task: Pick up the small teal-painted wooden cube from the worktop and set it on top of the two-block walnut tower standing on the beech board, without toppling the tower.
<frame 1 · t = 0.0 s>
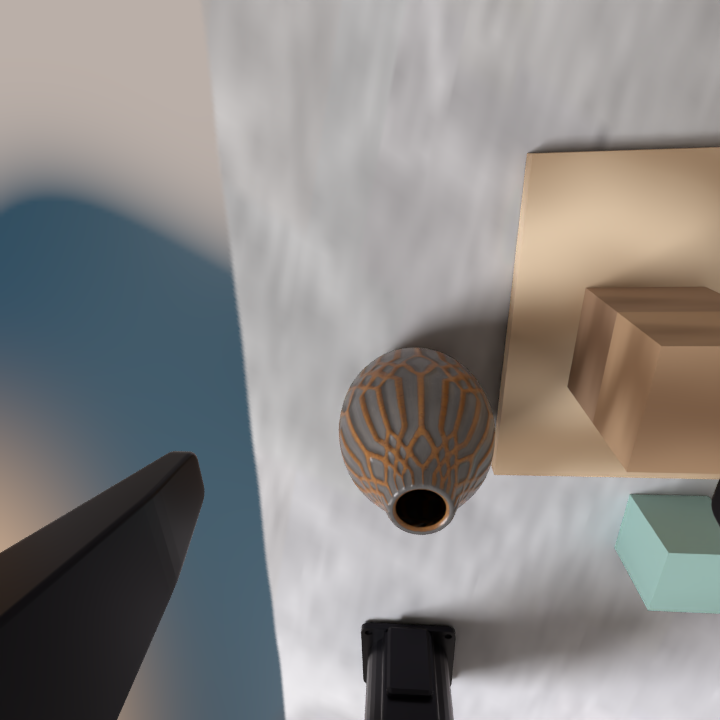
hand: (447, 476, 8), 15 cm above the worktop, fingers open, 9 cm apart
cube: (658, 521, 27), on the worktop
tower base: (631, 339, 21), point 1 cm above the worktop, touching beech board, tower top
beech board: (635, 333, 22), on the worktop
vase: (412, 387, 24), on the worktop
tower top: (669, 371, 18), point 4 cm above the worktop, touching tower base
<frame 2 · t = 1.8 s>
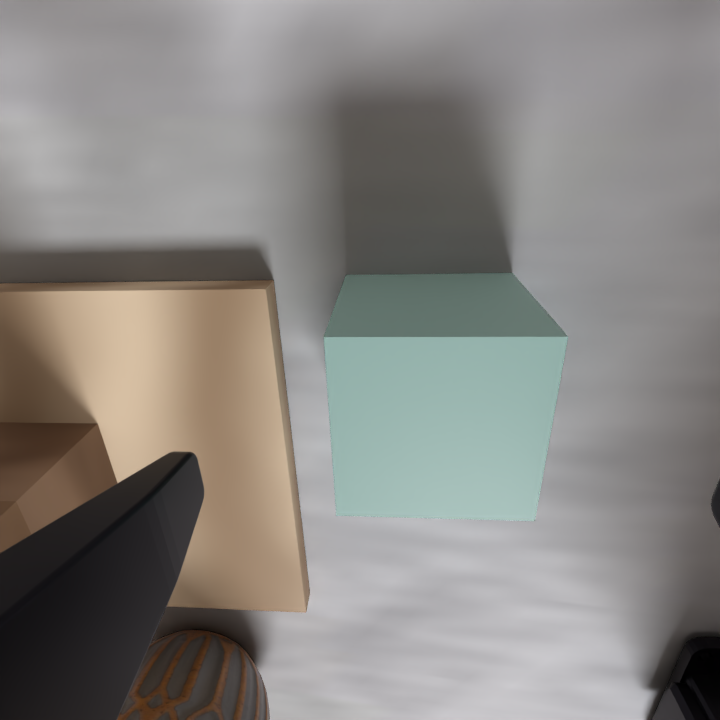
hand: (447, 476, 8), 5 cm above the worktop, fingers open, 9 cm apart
cube: (425, 347, 13), on the worktop
tower base: (45, 488, 15), point 1 cm above the worktop, touching beech board, tower top
beech board: (56, 459, 15), on the worktop
vase: (207, 654, 20), on the worktop
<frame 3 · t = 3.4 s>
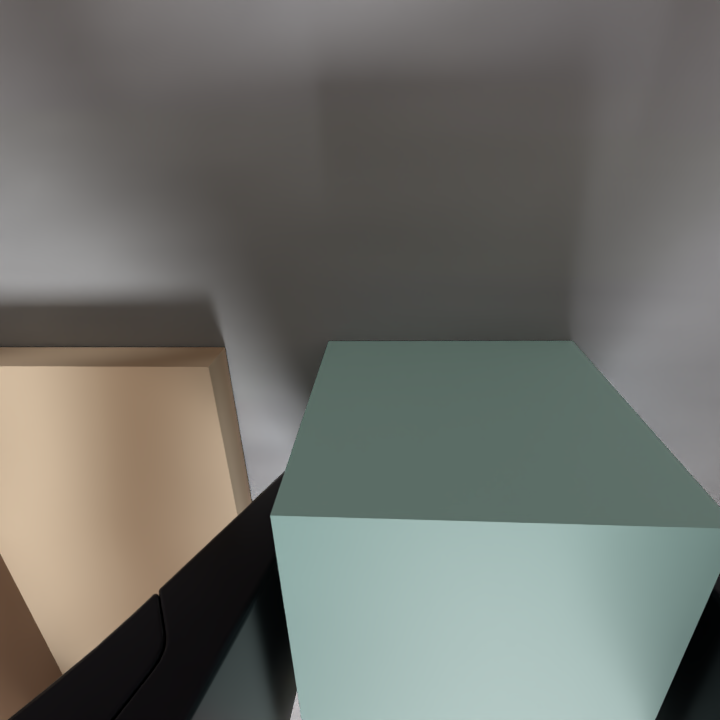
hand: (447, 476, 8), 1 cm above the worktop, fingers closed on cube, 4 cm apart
cube: (442, 440, 9), on the worktop, touching gripper
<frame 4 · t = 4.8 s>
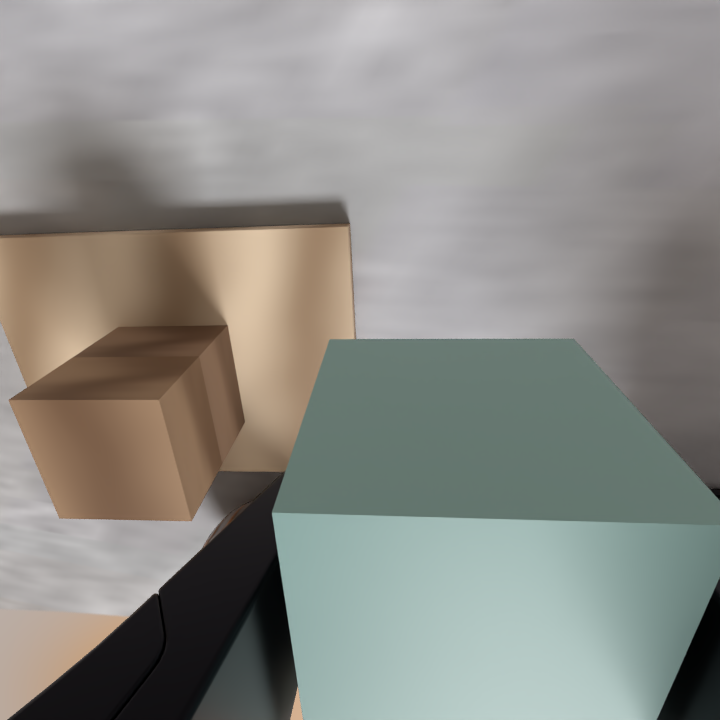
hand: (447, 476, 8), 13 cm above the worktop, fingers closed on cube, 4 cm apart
cube: (443, 438, 9), point 12 cm above the worktop, touching gripper
tower base: (184, 376, 21), point 1 cm above the worktop, touching beech board, tower top
beech board: (189, 359, 22), on the worktop
vase: (281, 522, 26), on the worktop
tower top: (151, 413, 18), point 4 cm above the worktop, touching tower base
when the fingers open (9 cm above the worktop, at t = 6.5 s): cube stays where it is, resting on tower top.
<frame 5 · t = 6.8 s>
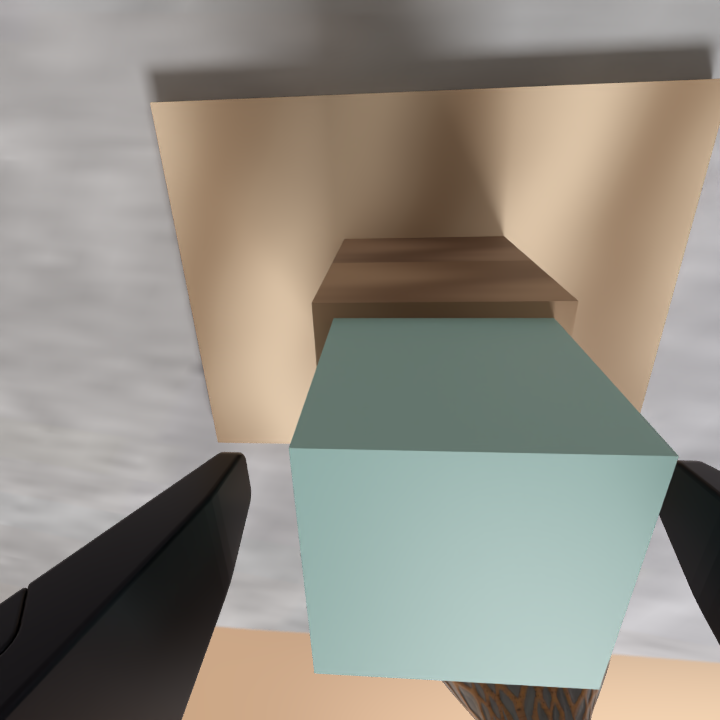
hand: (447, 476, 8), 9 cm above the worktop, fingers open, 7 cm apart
cube: (436, 411, 10), point 7 cm above the worktop, touching tower top
tower base: (421, 312, 15), point 1 cm above the worktop, touching beech board, tower top
beech board: (420, 291, 16), on the worktop
vase: (484, 514, 20), on the worktop
tower top: (427, 351, 13), point 4 cm above the worktop, touching cube, tower base
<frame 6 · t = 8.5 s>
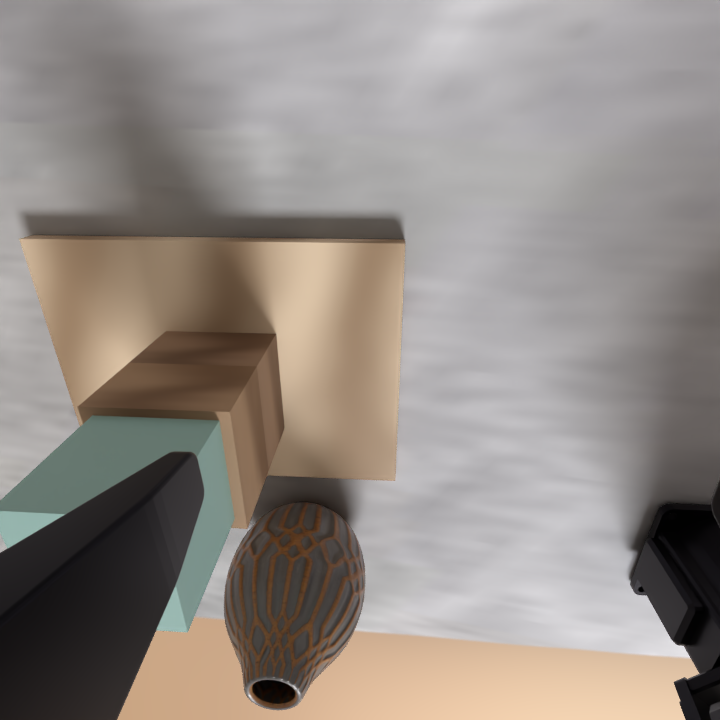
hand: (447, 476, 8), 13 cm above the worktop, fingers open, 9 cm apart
cube: (167, 469, 16), point 7 cm above the worktop, touching tower top
tower base: (227, 381, 21), point 1 cm above the worktop, touching beech board, tower top
beech board: (231, 364, 22), on the worktop
vase: (309, 525, 26), on the worktop
tower top: (202, 419, 18), point 4 cm above the worktop, touching cube, tower base
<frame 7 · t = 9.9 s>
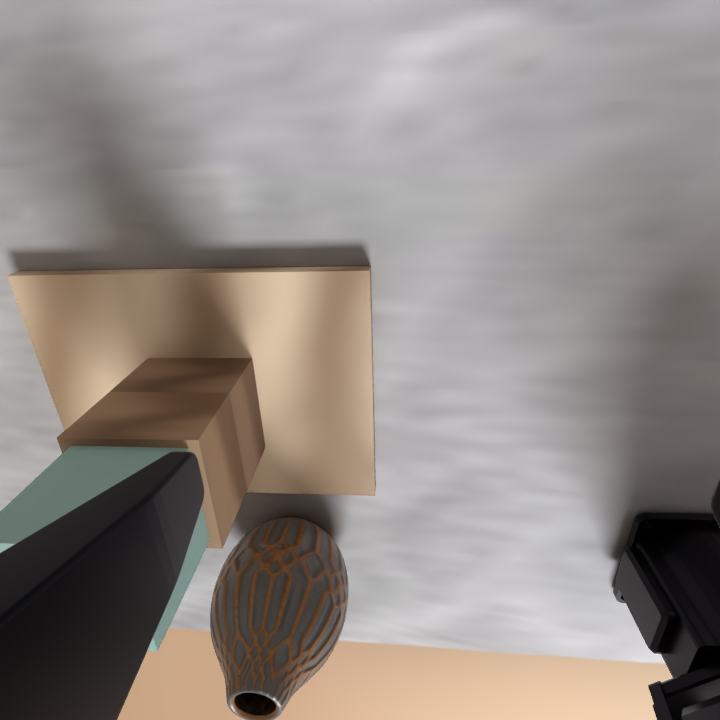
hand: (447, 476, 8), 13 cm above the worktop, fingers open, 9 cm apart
cube: (143, 494, 16), point 7 cm above the worktop, touching tower top
tower base: (209, 404, 22), point 1 cm above the worktop, touching beech board, tower top
beech board: (213, 387, 23), on the worktop
vase: (296, 539, 27), on the worktop
tower top: (181, 443, 19), point 4 cm above the worktop, touching cube, tower base
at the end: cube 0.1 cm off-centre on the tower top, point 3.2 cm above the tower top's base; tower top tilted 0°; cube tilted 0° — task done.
